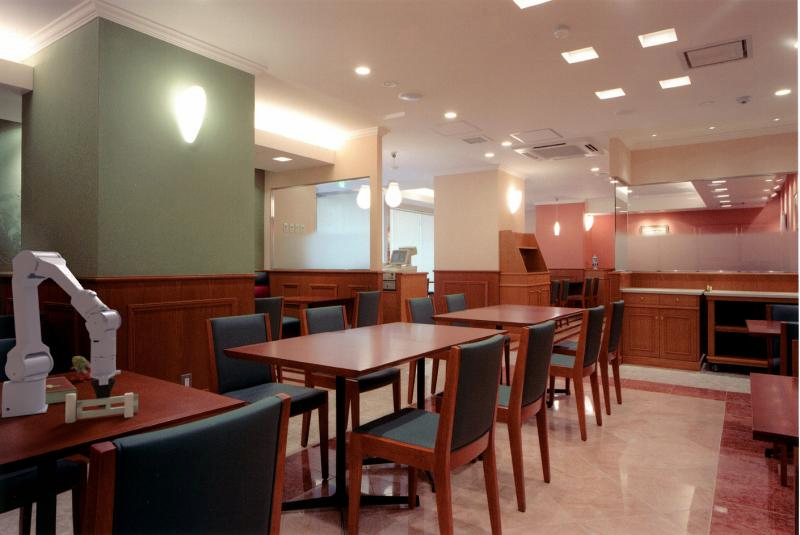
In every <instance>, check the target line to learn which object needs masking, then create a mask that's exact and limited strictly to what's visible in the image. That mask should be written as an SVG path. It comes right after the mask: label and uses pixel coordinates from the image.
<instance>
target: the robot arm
mask: <svg viewBox="0 0 800 535" xmlns="http://www.w3.org/2000/svg"><path fill="white" fill-rule="evenodd" d="M66 264H67V261H66V260H65V258H63V257H62V256H61V254H60V253H58V252H57V251H41V250H38V251H36V250H28V249H27V250H26V249H25V250H22V251H20V252H19V253H17V254H16V255H15V257H13V258H12V273H13V274H12V277H11V278H12V279H11V285H12V286H11V289H12V301H13V313H14V314H13V316H14V330H15V341H16V342H15V346H14V347H12V348H11V350H9V351H8V352H7V354H6V356H7V358H6V363H5V365H4V371H5V375H6V376H7V378H8V379H10V380H8V381H7V380H6V381H4V382H3V384H2V392H1V396H2V397H1V418H11V417H18V416H19V417H20V416H27V415H28V416H29V415H36V414H43V413H46V412H47V410H48V407H49V404H45V397H46V379H47V377H48V376H49V373H50V372H51V371H52V369H53V368H54V359H53V357H52V355H51V353H50V352H51V351H50V347H49V346H47V345H46V344H44V343H43V341H42V334H41V333H42V332H41V321H40V308H39V306H40V305H39V304H40V303H39V294H38V293H39V292H38V286H39V285H40V284H41V283H42V282H43V281H45V280H47V279H49V278H50V279H52V280H53V281H54V282H56V284H57V285H58V286H59V287H60V288H62V289H63V291H65V292H66V293H67V295H69V296H70V297H71V300H70V304H71V305H72V307H74V309H75V310H76V311H77V312H78V313H79V314H80V315H81V317H83V318H84V319H85V321H86V322H85V327H86V330H87V331H88V333H89V339H90V364H91V373H90V377H92V379H93V380H91V381H90V386H91V387H92V388H93V390H94V394H95V399H99V398H108V397H111V392H112V389H113V387H114V385H115V383H116V377H114V376H116V375H120V374H121V373H122V372H121V369H119V370H117V369H116V368H117V367H116V364H117V363H116V360H117V358H116V355H117V330H118V329H119V328H120V327H121V324H122V318H121V315H120V314H119V311H117V310H115V309H110V308H109V307H108V306H107V305H106V304H104V303H103V301H101V300H100V298H99V297H98V296H97V295H98V294H97V292H95V290H91V289H84V287H82V285H81V284H80V283H79V281H78V280H77V279H76V278H77V277H75V276H74V275H73V273H72V272H71V271H70V270H69V268H68V267H67V266H66ZM97 407H98V408H106V404H105V405H97Z"/></svg>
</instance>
